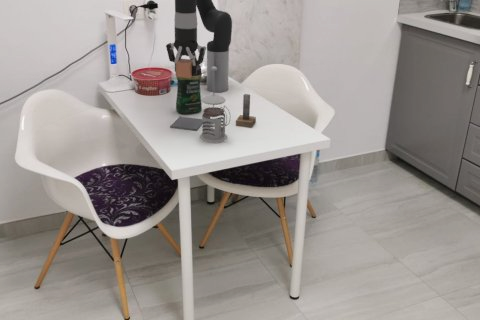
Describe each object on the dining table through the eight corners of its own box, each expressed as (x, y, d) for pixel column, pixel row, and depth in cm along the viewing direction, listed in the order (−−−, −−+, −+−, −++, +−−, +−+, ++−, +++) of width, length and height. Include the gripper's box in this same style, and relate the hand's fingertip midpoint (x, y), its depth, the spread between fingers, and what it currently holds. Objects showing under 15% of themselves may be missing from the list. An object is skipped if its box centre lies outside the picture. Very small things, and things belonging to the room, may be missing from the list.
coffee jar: (180, 116, 201) (179, 68, 193) (173, 109, 208) (172, 62, 200) (204, 112, 205) (204, 65, 197) (196, 106, 212) (196, 60, 204)
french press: (212, 129, 191) (212, 60, 180) (237, 138, 184) (239, 67, 173) (193, 137, 184) (192, 66, 173) (218, 146, 177) (219, 73, 166)
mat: (179, 117, 200) (179, 116, 199) (205, 120, 198) (205, 119, 197) (170, 127, 191) (170, 126, 191) (196, 130, 189) (196, 129, 189)
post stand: (239, 119, 200) (240, 91, 195) (255, 121, 198) (256, 93, 193) (235, 125, 194) (236, 96, 189) (251, 127, 193) (253, 98, 188)
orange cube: (176, 76, 184) (175, 62, 182) (181, 72, 189) (181, 58, 186) (189, 78, 183) (189, 63, 181) (194, 74, 187) (194, 60, 185)
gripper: (161, 25, 177) (162, 75, 184) (202, 29, 174) (202, 79, 181) (169, 21, 184) (170, 69, 191) (209, 25, 181) (209, 73, 188)
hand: (186, 74), depth 186 cm, fingers closed on orange cube, 5 cm apart
